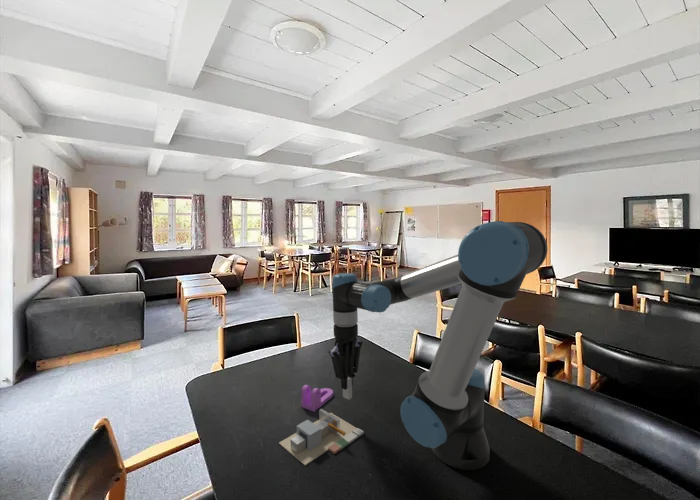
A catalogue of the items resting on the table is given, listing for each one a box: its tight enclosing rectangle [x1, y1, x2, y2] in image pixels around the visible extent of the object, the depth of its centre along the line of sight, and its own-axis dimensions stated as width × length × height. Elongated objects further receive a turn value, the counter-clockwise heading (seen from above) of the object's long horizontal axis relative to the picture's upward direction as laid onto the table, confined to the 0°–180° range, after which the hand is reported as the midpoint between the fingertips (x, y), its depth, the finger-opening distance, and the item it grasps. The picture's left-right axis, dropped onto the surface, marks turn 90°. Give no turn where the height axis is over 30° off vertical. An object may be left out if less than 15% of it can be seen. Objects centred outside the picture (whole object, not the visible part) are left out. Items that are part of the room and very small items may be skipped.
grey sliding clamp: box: [290, 408, 345, 453], centre depth 90 cm, size 12×14×5 cm
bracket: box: [300, 384, 334, 412], centre depth 112 cm, size 13×6×7 cm, turn 149°
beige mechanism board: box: [278, 412, 365, 467], centre depth 92 cm, size 14×20×5 cm
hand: (347, 397), depth 100 cm, fingers closed
